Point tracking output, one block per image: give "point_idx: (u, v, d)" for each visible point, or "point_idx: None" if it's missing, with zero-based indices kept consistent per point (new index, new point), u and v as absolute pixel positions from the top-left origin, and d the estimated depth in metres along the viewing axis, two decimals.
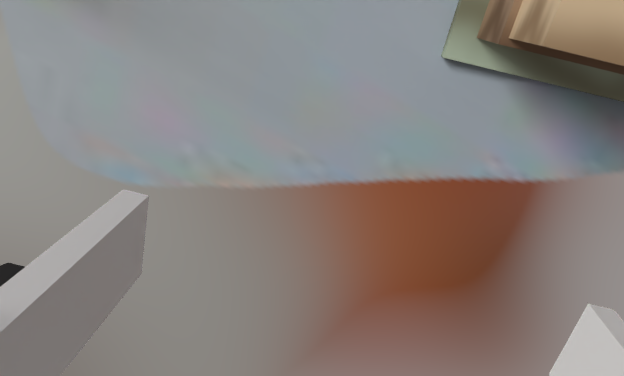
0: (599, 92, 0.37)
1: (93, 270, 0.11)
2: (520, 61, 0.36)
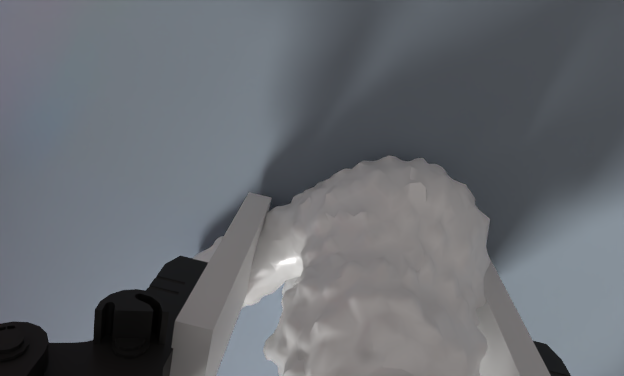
0: None
1: (247, 262, 0.12)
2: None
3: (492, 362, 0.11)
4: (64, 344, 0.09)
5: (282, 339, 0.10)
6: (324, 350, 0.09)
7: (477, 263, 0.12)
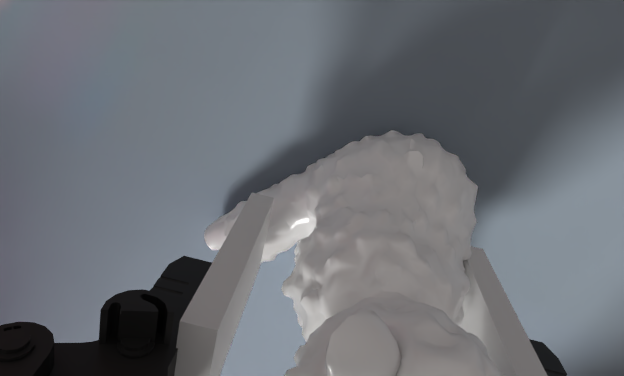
0: None
1: (251, 262, 0.12)
2: None
3: None
4: (70, 344, 0.09)
5: (299, 276, 0.12)
6: (335, 279, 0.11)
7: (465, 221, 0.14)
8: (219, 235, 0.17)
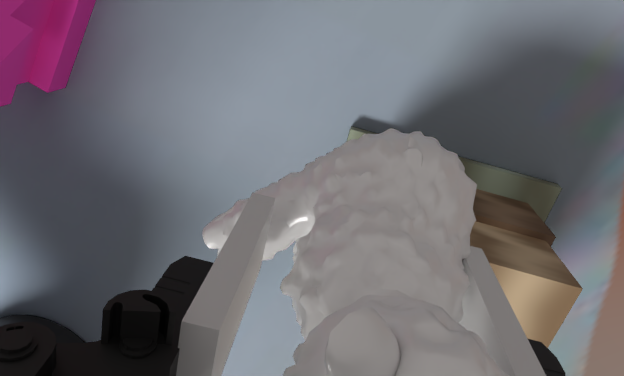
0: None
1: (252, 262, 0.12)
2: None
3: None
4: (71, 343, 0.09)
5: (298, 274, 0.12)
6: (334, 277, 0.11)
7: (464, 219, 0.14)
8: (217, 234, 0.17)
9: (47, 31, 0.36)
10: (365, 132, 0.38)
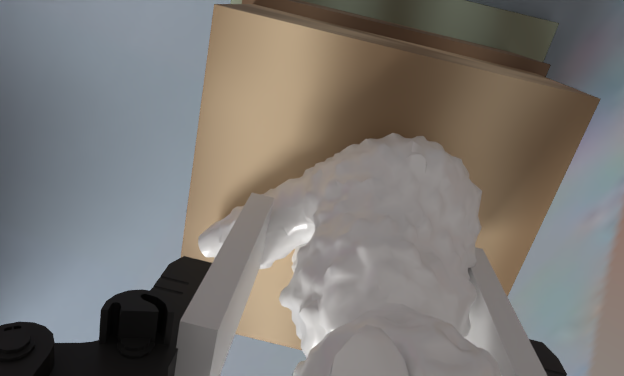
0: None
1: (251, 262, 0.12)
2: None
3: None
4: (70, 343, 0.09)
5: (297, 286, 0.12)
6: (335, 290, 0.10)
7: (470, 227, 0.13)
8: (214, 242, 0.16)
9: None
10: None
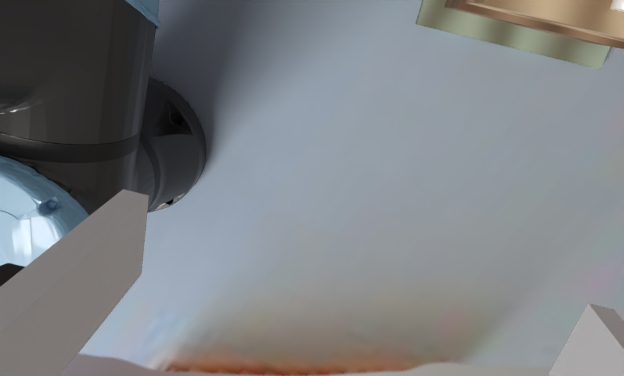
0: None
1: (93, 270, 0.11)
2: None
3: None
4: None
5: None
6: None
7: None
8: None
9: None
10: None
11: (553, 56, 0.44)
